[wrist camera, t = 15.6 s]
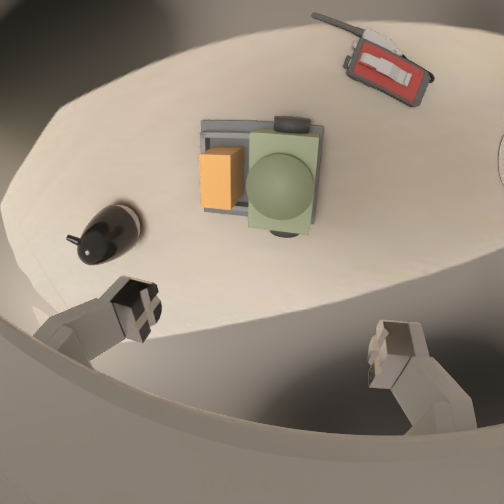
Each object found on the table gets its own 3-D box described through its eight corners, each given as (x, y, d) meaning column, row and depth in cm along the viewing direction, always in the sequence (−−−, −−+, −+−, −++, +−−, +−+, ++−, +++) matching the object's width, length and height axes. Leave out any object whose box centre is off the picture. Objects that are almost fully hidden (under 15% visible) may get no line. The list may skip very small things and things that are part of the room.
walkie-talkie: (435, 67, 29) (314, 11, 30) (446, 65, 25) (312, 2, 26) (417, 113, 34) (296, 58, 35) (427, 115, 30) (293, 53, 31)
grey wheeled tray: (323, 119, 38) (323, 124, 31) (313, 227, 48) (310, 253, 41) (203, 114, 42) (178, 119, 35) (206, 214, 51) (186, 236, 44)
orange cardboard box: (244, 146, 42) (230, 155, 37) (243, 195, 47) (230, 212, 41) (216, 145, 43) (199, 154, 38) (217, 193, 48) (201, 209, 42)
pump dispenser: (117, 188, 53) (66, 219, 40) (154, 217, 54) (108, 256, 42) (104, 222, 58) (59, 257, 46) (138, 250, 60) (97, 291, 47)
